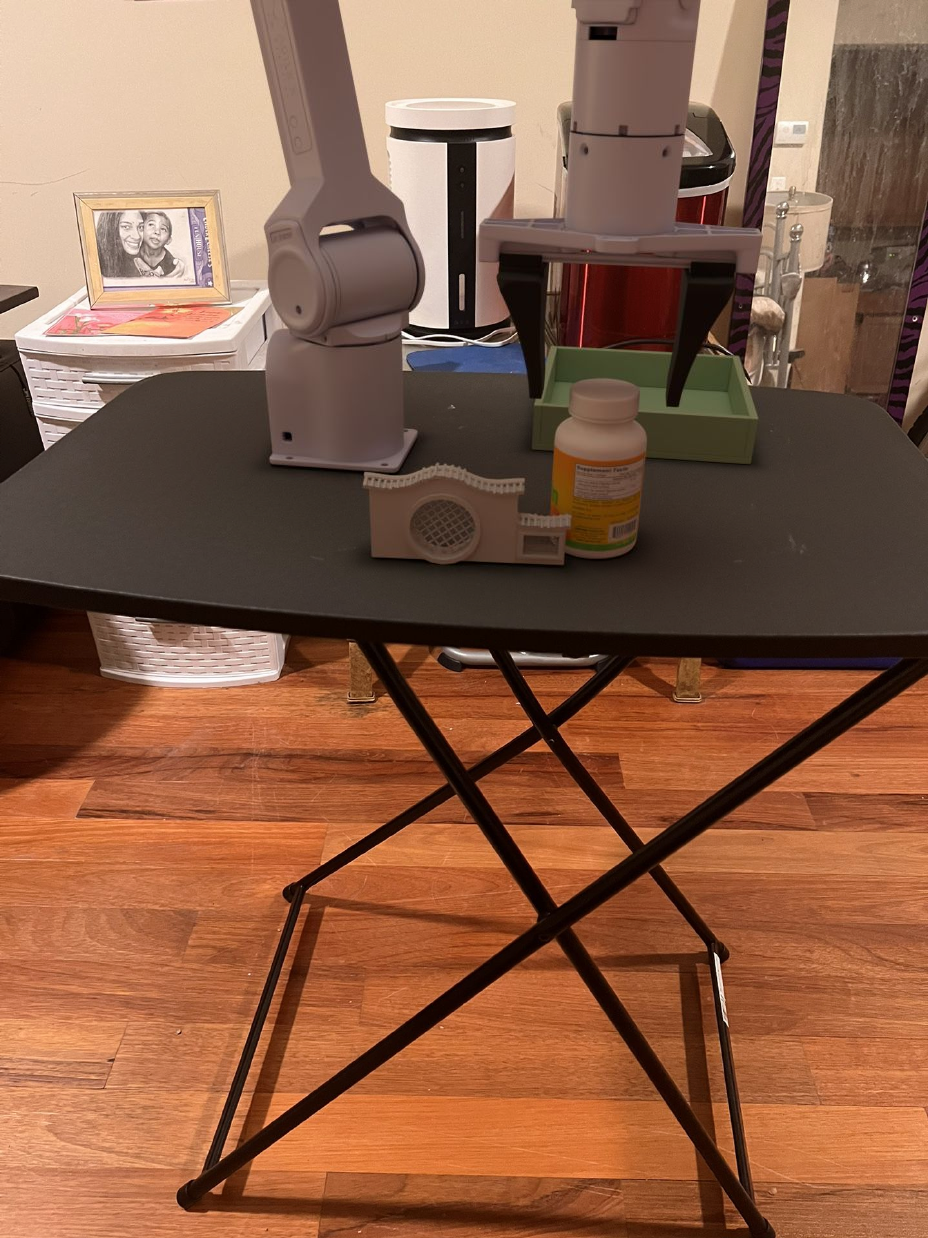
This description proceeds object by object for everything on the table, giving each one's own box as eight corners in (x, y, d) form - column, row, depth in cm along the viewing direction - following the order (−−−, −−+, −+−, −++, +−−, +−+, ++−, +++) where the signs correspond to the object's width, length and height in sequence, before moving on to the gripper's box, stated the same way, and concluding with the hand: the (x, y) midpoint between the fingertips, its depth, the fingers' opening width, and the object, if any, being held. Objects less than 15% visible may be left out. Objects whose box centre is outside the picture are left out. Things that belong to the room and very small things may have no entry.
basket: (531, 449, 74) (533, 404, 72) (548, 384, 87) (551, 345, 85) (750, 464, 72) (758, 418, 70) (733, 395, 85) (739, 355, 83)
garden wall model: (567, 556, 59) (574, 464, 56) (568, 570, 57) (575, 476, 54) (370, 548, 59) (366, 456, 56) (365, 561, 58) (361, 468, 55)
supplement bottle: (554, 518, 63) (562, 371, 58) (637, 526, 62) (653, 376, 57) (543, 556, 59) (552, 400, 54) (633, 565, 58) (651, 407, 53)
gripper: (471, 135, 46) (467, 412, 53) (786, 143, 44) (739, 429, 51) (491, 123, 52) (485, 374, 59) (769, 130, 50) (729, 388, 57)
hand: (603, 397), depth 56 cm, fingers open, 7 cm apart
